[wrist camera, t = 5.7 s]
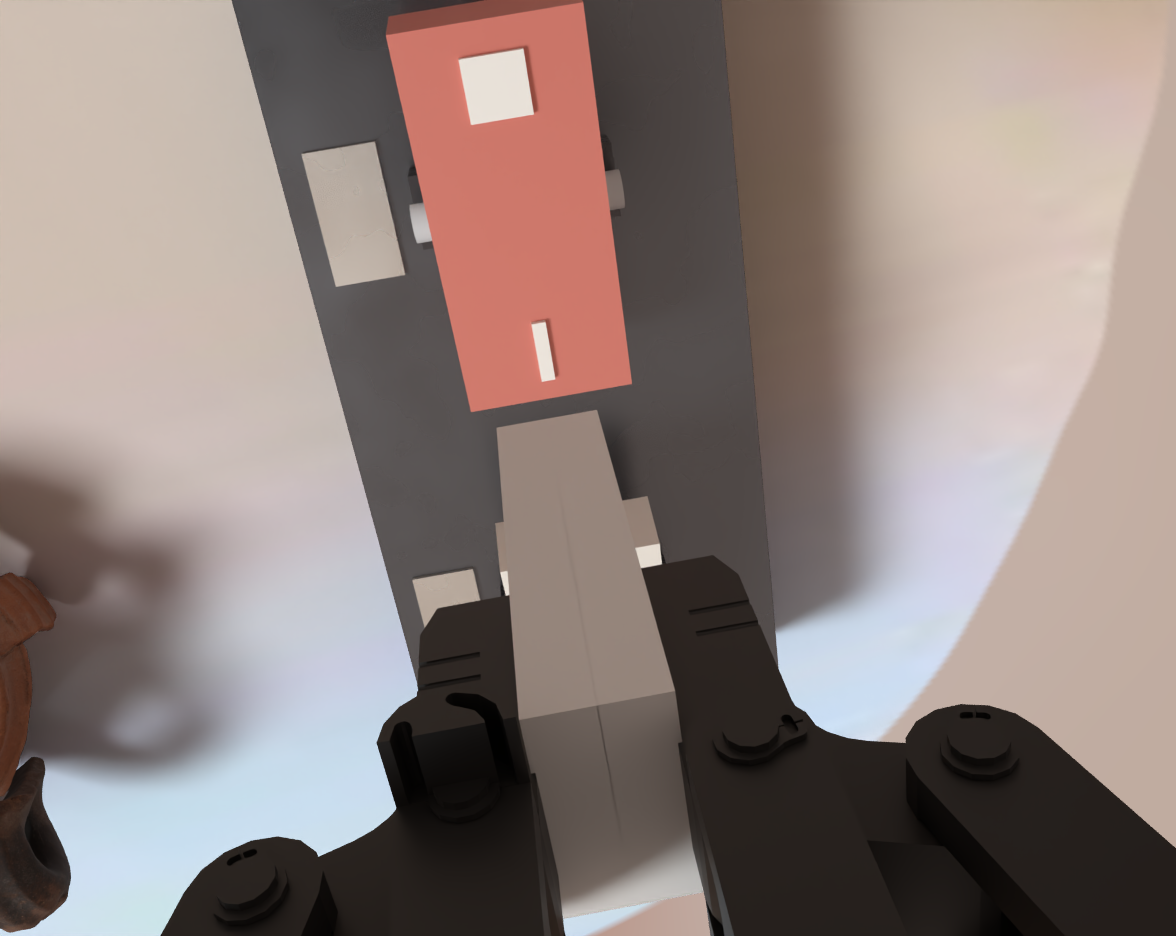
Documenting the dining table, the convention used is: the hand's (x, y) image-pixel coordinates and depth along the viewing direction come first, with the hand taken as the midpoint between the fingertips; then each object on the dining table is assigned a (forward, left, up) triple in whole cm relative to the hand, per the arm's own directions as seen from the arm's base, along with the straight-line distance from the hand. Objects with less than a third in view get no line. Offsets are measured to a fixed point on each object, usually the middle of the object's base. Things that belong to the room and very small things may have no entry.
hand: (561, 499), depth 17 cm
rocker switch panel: (+1, 0, -14) cm, 14 cm away
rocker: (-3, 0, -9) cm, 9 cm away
